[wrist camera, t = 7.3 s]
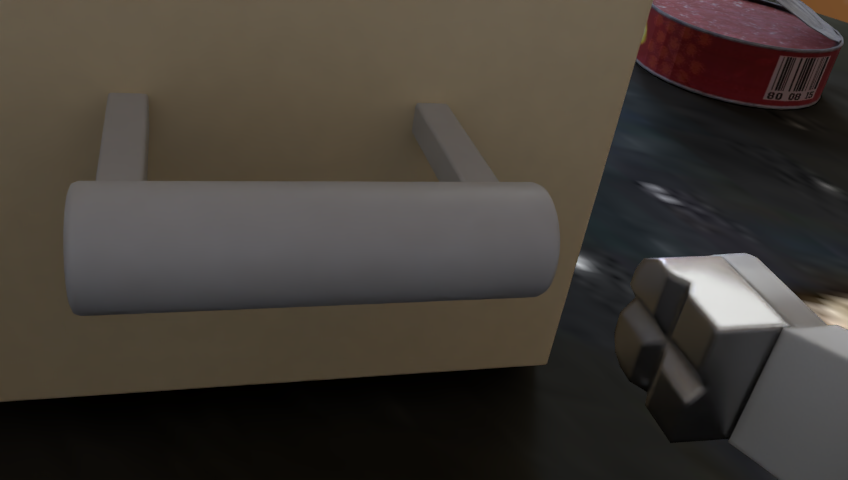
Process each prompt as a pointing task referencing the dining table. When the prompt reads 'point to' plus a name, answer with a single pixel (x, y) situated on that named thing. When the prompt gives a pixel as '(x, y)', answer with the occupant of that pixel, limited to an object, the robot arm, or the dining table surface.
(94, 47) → the beige drawer
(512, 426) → the dining table surface
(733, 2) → the canned food
